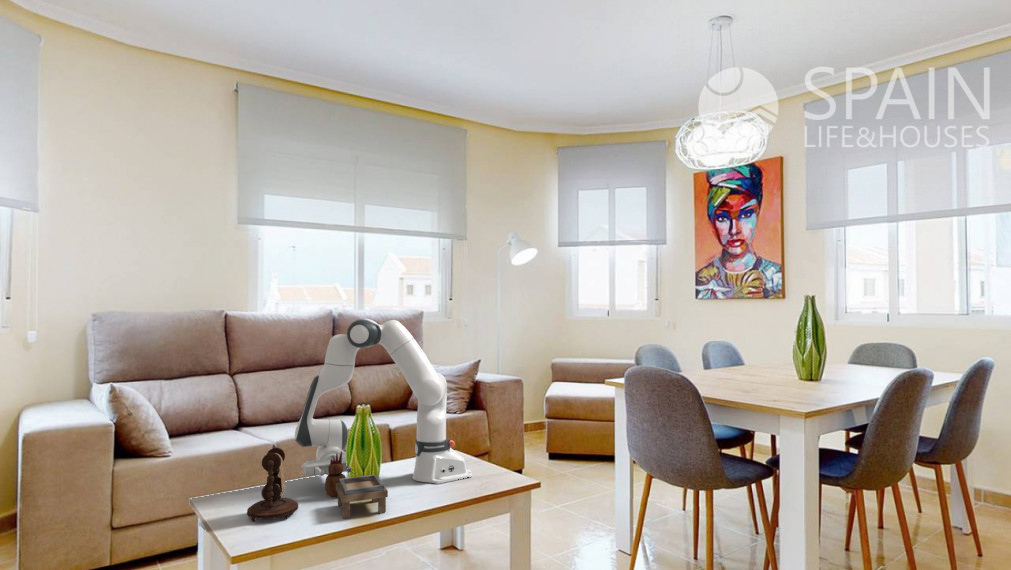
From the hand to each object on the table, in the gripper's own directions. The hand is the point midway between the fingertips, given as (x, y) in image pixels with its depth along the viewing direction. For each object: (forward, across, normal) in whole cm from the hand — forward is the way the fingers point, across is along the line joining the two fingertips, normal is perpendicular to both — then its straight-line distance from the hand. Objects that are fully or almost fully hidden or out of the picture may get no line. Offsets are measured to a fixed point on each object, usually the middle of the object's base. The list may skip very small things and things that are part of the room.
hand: (336, 471), depth 196 cm
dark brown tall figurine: (+9, -20, +9) cm, 24 cm away
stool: (+15, +6, +8) cm, 19 cm away
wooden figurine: (-1, 0, +9) cm, 9 cm away
